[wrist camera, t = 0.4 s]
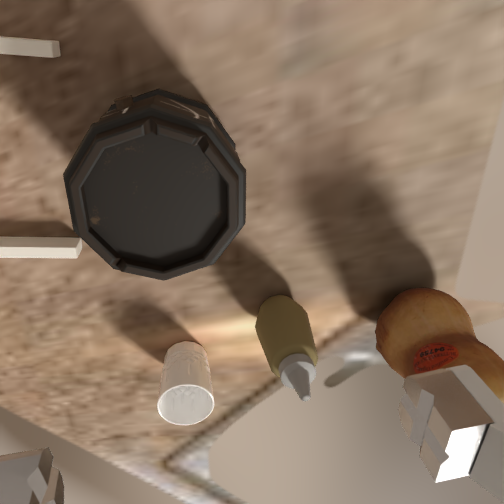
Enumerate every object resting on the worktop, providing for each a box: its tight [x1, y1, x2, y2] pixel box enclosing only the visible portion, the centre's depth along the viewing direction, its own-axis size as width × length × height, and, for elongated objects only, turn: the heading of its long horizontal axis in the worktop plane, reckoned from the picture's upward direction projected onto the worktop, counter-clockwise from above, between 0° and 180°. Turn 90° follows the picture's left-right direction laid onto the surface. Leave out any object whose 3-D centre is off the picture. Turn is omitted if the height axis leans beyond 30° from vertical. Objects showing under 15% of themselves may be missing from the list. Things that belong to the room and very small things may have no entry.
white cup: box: [157, 341, 214, 425], centre depth 64 cm, size 8×8×10 cm
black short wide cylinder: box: [63, 89, 246, 280], centre depth 46 cm, size 18×18×16 cm
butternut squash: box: [375, 288, 504, 404], centre depth 59 cm, size 14×13×25 cm
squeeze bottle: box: [255, 295, 318, 401], centre depth 58 cm, size 8×8×18 cm
